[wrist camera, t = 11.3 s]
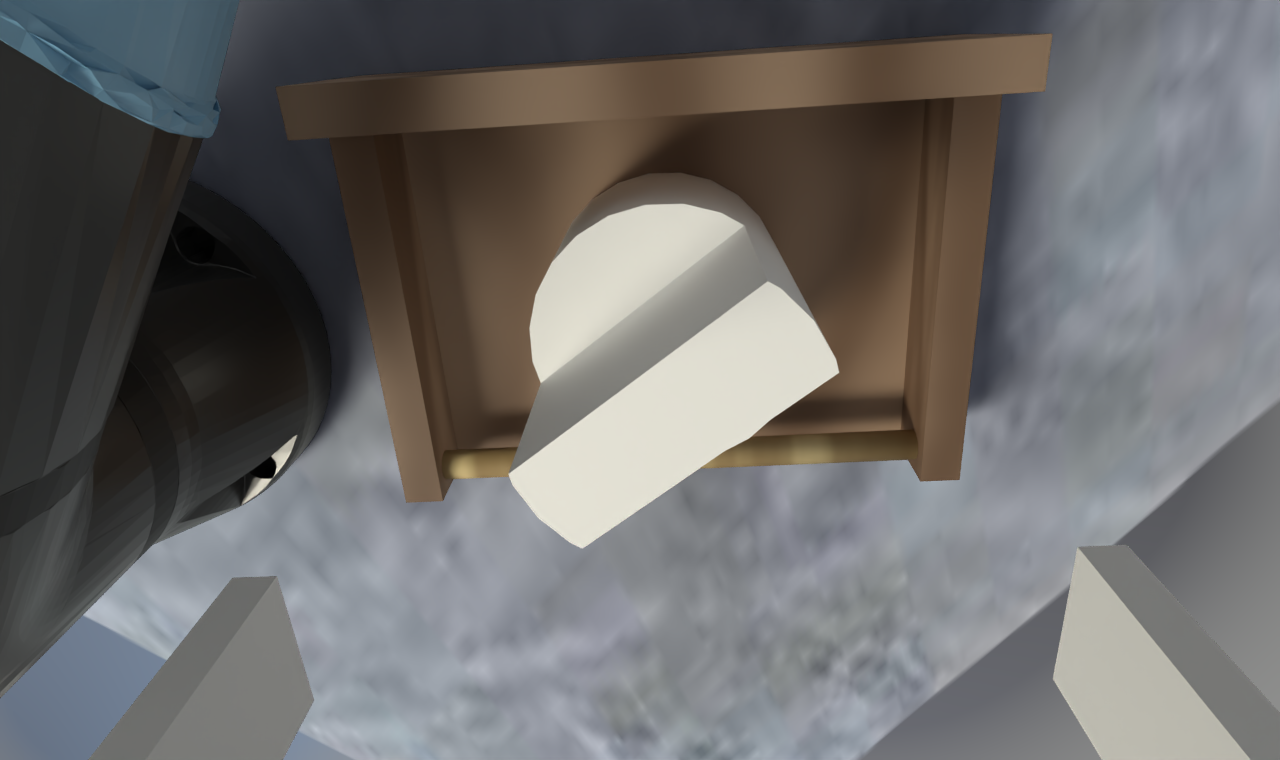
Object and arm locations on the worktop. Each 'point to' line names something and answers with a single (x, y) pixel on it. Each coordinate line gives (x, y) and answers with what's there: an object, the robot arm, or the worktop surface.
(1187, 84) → the worktop surface
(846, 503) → the worktop surface
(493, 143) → the caddy
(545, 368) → the cylinder with rectangular tab
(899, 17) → the worktop surface
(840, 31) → the worktop surface
